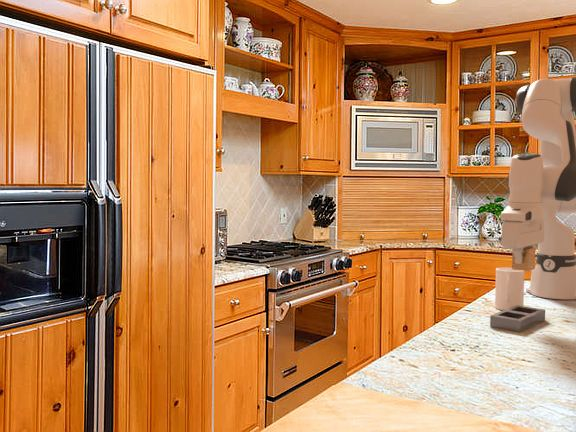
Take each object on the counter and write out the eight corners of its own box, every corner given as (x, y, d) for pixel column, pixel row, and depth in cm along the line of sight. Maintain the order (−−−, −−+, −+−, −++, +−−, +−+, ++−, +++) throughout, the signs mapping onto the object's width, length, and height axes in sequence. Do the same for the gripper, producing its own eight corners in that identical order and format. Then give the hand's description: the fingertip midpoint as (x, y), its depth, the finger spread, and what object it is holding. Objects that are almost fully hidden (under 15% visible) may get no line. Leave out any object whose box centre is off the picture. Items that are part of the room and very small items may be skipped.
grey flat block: (516, 315, 159) (516, 305, 159) (545, 320, 154) (545, 309, 153) (490, 326, 147) (490, 315, 147) (520, 332, 142) (520, 321, 141)
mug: (520, 315, 160) (521, 274, 159) (489, 311, 164) (490, 271, 163) (526, 306, 170) (527, 268, 169) (497, 303, 174) (498, 266, 173)
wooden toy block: (518, 266, 156) (519, 246, 155) (534, 268, 153) (535, 247, 152) (511, 269, 153) (512, 247, 152) (528, 271, 150) (529, 249, 149)
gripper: (528, 209, 161) (527, 256, 162) (497, 214, 147) (496, 265, 148) (551, 210, 156) (549, 258, 158) (521, 215, 142) (519, 268, 143)
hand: (523, 262), depth 153 cm, fingers closed on wooden toy block, 4 cm apart
